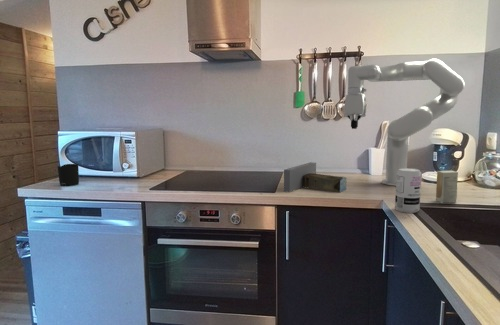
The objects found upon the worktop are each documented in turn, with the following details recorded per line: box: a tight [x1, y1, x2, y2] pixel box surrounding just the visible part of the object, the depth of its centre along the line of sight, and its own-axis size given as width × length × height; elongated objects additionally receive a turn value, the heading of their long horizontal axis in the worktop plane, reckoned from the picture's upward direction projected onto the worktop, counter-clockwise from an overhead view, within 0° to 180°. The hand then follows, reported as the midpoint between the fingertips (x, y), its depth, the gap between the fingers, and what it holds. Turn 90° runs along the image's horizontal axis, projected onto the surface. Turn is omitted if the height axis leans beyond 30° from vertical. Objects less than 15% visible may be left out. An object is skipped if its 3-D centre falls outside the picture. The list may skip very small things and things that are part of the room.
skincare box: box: [435, 170, 459, 204], centre depth 143 cm, size 6×4×12 cm
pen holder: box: [56, 163, 80, 187], centre depth 182 cm, size 9×9×10 cm
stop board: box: [283, 161, 317, 193], centre depth 174 cm, size 3×28×10 cm, turn 145°
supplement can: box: [394, 167, 423, 214], centre depth 130 cm, size 8×8×15 cm
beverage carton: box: [302, 173, 348, 193], centre depth 169 cm, size 8×19×7 cm, turn 54°
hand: (354, 128), depth 182 cm, fingers closed
